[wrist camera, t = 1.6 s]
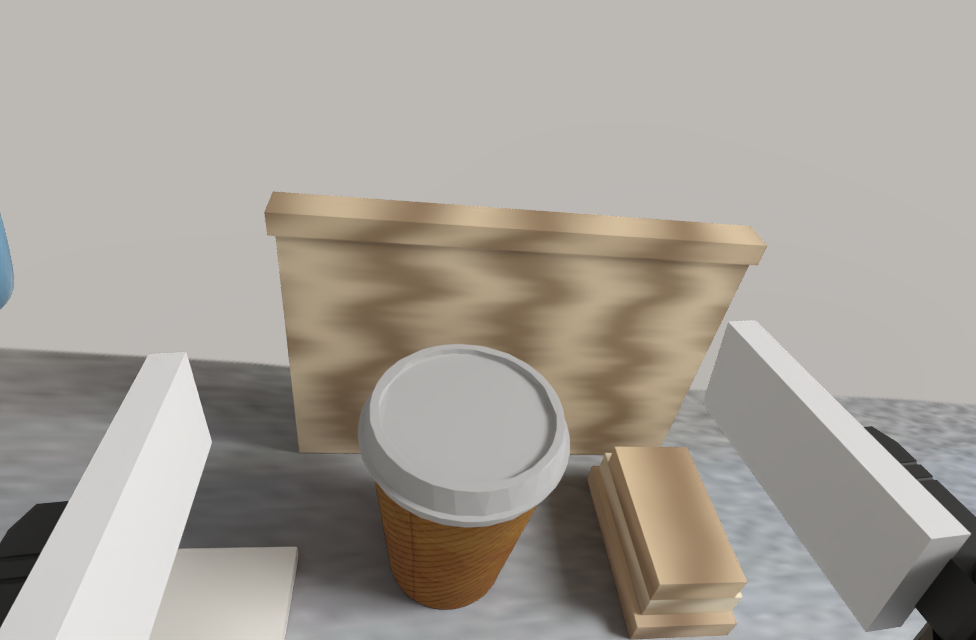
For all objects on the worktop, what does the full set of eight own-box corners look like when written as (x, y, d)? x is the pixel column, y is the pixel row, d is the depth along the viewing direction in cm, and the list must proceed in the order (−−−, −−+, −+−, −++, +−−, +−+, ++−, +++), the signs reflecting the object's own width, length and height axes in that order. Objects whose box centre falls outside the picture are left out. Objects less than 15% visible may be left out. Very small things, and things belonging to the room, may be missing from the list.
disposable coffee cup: (469, 460, 38) (493, 317, 31) (563, 581, 33) (621, 442, 25) (330, 526, 33) (320, 375, 26) (412, 683, 28) (430, 547, 20)
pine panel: (293, 456, 37) (264, 212, 26) (298, 431, 38) (273, 191, 28) (662, 457, 40) (767, 245, 30) (653, 435, 42) (750, 225, 31)
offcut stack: (628, 641, 31) (657, 597, 28) (586, 481, 38) (604, 433, 35) (725, 637, 32) (762, 593, 29) (664, 481, 39) (689, 434, 36)
